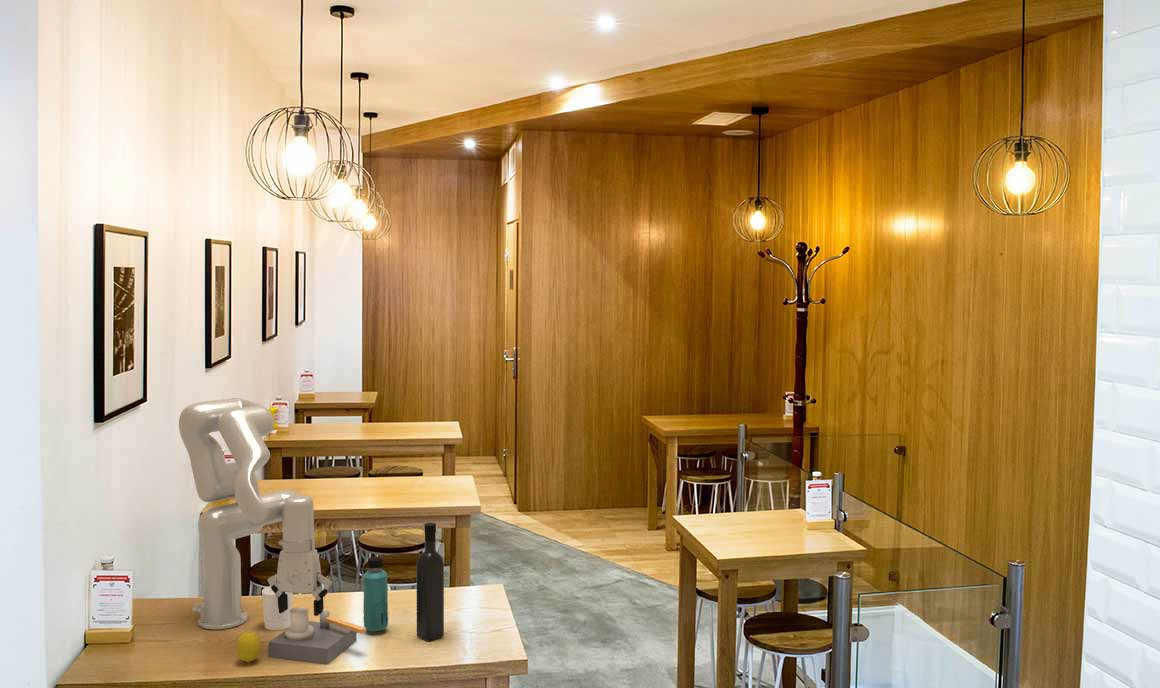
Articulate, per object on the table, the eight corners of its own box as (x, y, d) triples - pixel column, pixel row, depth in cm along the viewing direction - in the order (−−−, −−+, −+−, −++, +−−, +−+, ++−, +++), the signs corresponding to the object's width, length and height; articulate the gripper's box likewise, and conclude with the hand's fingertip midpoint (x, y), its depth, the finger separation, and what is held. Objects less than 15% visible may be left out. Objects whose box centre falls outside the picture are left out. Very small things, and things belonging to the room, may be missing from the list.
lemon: (240, 658, 231) (239, 626, 230) (263, 658, 231) (262, 626, 231) (234, 668, 225) (233, 635, 225) (257, 667, 226) (257, 635, 225)
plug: (280, 653, 234) (279, 613, 233) (294, 643, 240) (294, 604, 239) (305, 656, 232) (304, 616, 231) (318, 645, 239) (318, 606, 238)
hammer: (367, 638, 234) (367, 623, 234) (359, 641, 232) (359, 626, 232) (325, 624, 243) (325, 610, 243) (317, 627, 241) (317, 612, 241)
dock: (268, 657, 232) (268, 642, 231) (300, 634, 246) (300, 620, 246) (327, 664, 228) (327, 648, 228) (356, 641, 242) (356, 626, 242)
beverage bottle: (382, 637, 245) (382, 562, 243) (358, 635, 246) (358, 560, 245) (392, 628, 251) (392, 555, 250) (369, 626, 253) (368, 553, 251)
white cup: (299, 623, 254) (299, 587, 253) (278, 633, 247) (278, 596, 246) (277, 618, 257) (276, 583, 256) (256, 628, 250) (255, 591, 249)
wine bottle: (414, 636, 246) (414, 523, 244) (432, 630, 250) (432, 519, 248) (428, 642, 242) (428, 528, 240) (445, 636, 246) (445, 524, 244)
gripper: (259, 547, 232) (261, 615, 233) (322, 551, 228) (324, 620, 229) (276, 539, 240) (278, 605, 241) (337, 543, 236) (339, 610, 237)
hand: (300, 612), depth 235 cm, fingers open, 9 cm apart
